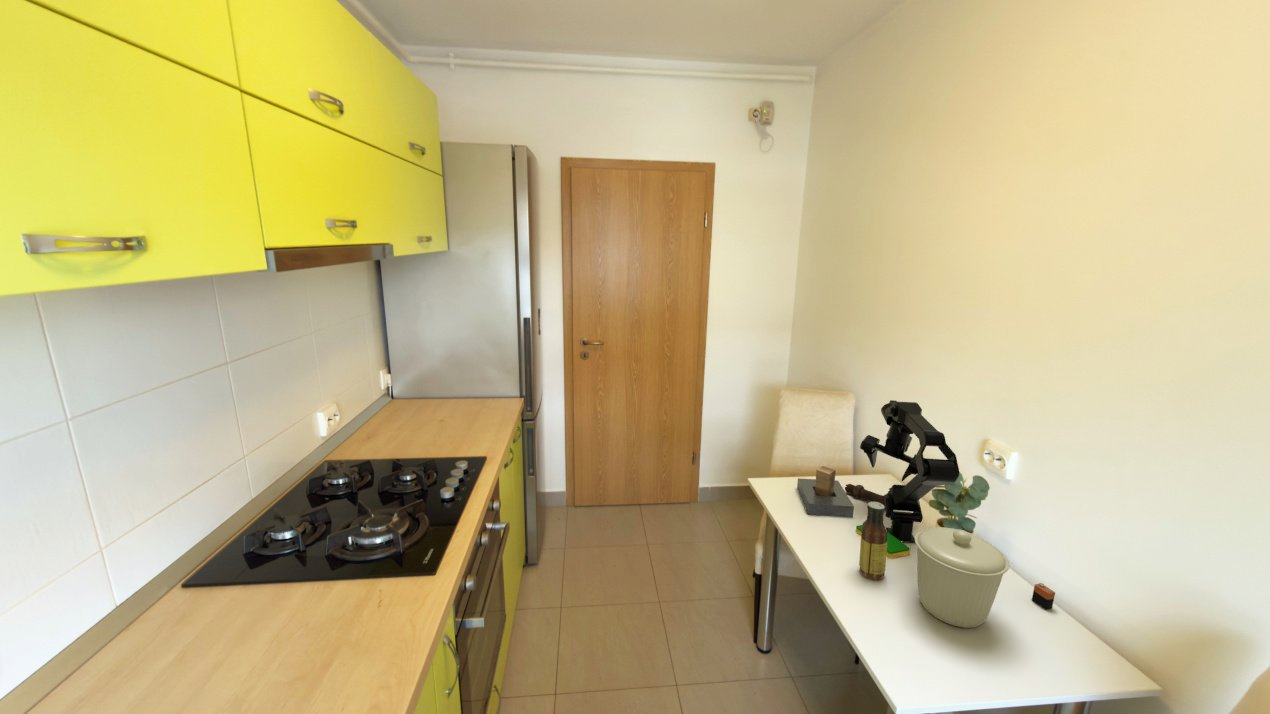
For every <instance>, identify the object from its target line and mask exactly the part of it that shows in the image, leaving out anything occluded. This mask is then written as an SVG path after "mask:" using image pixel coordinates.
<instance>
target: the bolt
mask: <svg viewBox="0 0 1270 714" xmlns="http://www.w3.org/2000/svg"><path fill="white" fill-rule="evenodd" d="M844 491H845V493H849V494H851V495H852V496H853V497H854V498H855V499H857V500H861V499H864V500H867V501H868V502H879V503H881V504H883V505H884V506H885V497H886V494H887V493H885V494H883V495H882V494H878V493H875V492H873V491H871V490H868V489H865V487H864V485H861V484H856V485H855V484H851V483H847V484H845V487H844Z"/></svg>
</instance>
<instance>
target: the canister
mask: <svg viewBox="0 0 1270 714" xmlns="http://www.w3.org/2000/svg"><path fill="white" fill-rule="evenodd" d="M914 538H915V542H914V543H915V545H916V547H917V568H916V569H917V592H918V597H919V600H920V602H921V604H922V605H923V607H924V608H925V609H926V610H927V612H928V613H930V614H931V616H933V617H935V618H936V619H939V620H940V621H942V622H943V623H946V624H949V625H952V626H954V627H955V626H956V627H958V628H969V629H970V628H976V627H978V626H981V625H982V624H983V623H984V622H985V621H986V620H987V619H988V616H989V614H990V612H991V609H992V606H993V604H994V602H995V599H996V597H997V593H998V590H999V588H1000V584H1001V582H1002V579H1003V576H1004V574H1005V573H1007V572H1008V571H1009V569H1010V562H1009V561H1010V560H1009V559H1008V558H1007V556H1006V555H1005V554H1004V552H1002V551H1001V550H1000V549H999V548H997V547H996V545H993V544H992V543H991V542H989V541H988V540H985V539H984V538H982V537H980V536H978V535H975V534H973V533H971V532H968V531H966V530H963V529H958V528H953V527H942V526H941V527H940V526H938V527H928V528H924V529H921V530H919V531H918V532H916V534H915V536H914Z"/></svg>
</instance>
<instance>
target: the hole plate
mask: <svg viewBox="0 0 1270 714" xmlns="http://www.w3.org/2000/svg"><path fill="white" fill-rule="evenodd" d="M815 483H816V478H815V479H813V478H799V477H798V478H797V484H796V485H797V486H796V490H797V491H798V494H799V497H800V499H801V501H802V504H803V506H804V509H805V511H806V512H807V515H809V516H819V517H820V516H823V517H834V518H835V517H837V518H838V517H839V518H840V517H841V518H852V519H853V518H854V511H855V506H854V504H853V503H852V501H851V499H850V497H849V496H848V495H847V492H846V491H845V488H844V487H843V485H841V483H840V482H839V480H836V479H835V483H834V494H833V497H831V496H817V495H816V493H815Z"/></svg>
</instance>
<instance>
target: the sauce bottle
mask: <svg viewBox="0 0 1270 714" xmlns="http://www.w3.org/2000/svg"><path fill="white" fill-rule="evenodd" d="M866 508H867V516H866V519H865V520H864V521H863V523H862V524H861V525H862V534H861V536H860V548H859V563H858V567H859V571H860V573H861V575H862V576H864V577H866V578H868V579H870V580H877V581H878V580H882V579H884V577H885V573H886V567H887V563H886V562H887V556H886V553H887V531H886V527H885V523H884V513H886V511H885V506H884V505H883V504H881V503H879V502H871V501H868V503H867V506H866Z"/></svg>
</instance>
